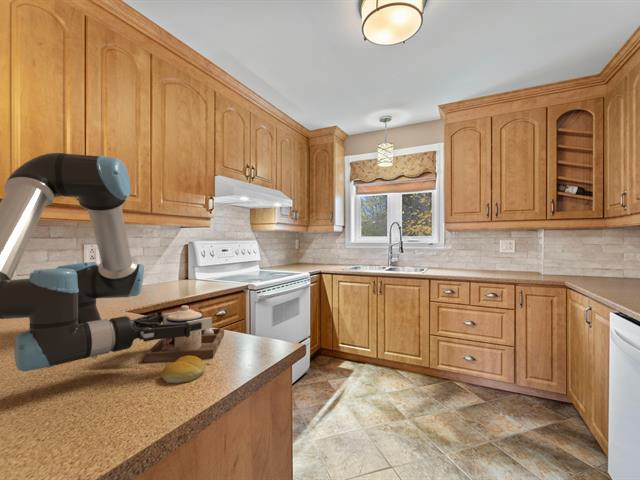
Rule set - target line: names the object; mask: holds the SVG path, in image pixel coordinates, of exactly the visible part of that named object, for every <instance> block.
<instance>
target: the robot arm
mask: <svg viewBox="0 0 640 480" xmlns="http://www.w3.org/2000/svg"><path fill="white" fill-rule="evenodd" d="M130 183H131V179H130V175H129V171H128V169H127V167H126V165H125V163H124V162H123V161H122V160H121V159H119V158H117V157H111V156H110V157H109V156H106V155H99V156H98V155H87V154H75V153H65V152H50V153H44V154H41V155H38V156H36V157H34V158H31V159H29V160H28V161H25V162H24V163H23V164H21V165H20V166H19V167H17V168H16V169H15V170H14V171H13V172H12V173H11V174H10V175H9V177H8V179H6V182H5V183H4V187H3V189H4V192H5V194H4V196H3V198H2V199H1V200H0V320H10V319H24V318H25V319H26V318H27V319H29V329H28V330H26V331H24V332H23V331H22V332H20V333H18V334H17V335H16V336H15V338H14V363H15V366H16V368H17V370H18V371H21V372H29V371H35V370H40V369H46V368H51V367H55V366H60V365H62V364H63V365H64V364H67V363H73V362H76V361H78V360H79V361H81V360H83V359H87V358H91V359H93V360H95V359H97V358H98V356H101V355H106V354H109V353H110V352H113V353H115V352H119V351H124V350H125V351H126V350H129V349H130V348H131V347H132V346H133V343H134V341H135V340H136V339H139V340H141V341H142V340H143V342H146V343H147V342H150V341H156V340H161V339H166V338H175V337H184V336H186V337H189V336H190V333H191V332H196V331H200V330H205V329H213V318H212V317H211V316H210V317H204V318H203V317H202V319H198V320H193V321H188V322H187V323H179V324H167V320H166V319H167V317H168V315H170V314H173V313H175V312H176V311H173V312H168V313H163V312H162V311H156V313H152V314H148V315H145V316H142V317H138V318H134V319H131V318H130V317H129V316H127V315H126V316H117V317H113V318H111V317H110V319H106V318H103V319H102V317H101V315H100V312H99V309H98V308H97V299H115V298H116V299H117V298H118V299H119V298H131V297H137V296H139V295H140V294H141V292H142V287H143V280H144V272H145V271H144V268H145V267H144V264H141V263H138V262H137V259H136V258H135V257H133V256H131V249H130V245H129V240H128V235H127V229H126V224H125V218H124V213H123V207H122V206H124V204H125V203H126V201H127V199H129V197H130V196H131V192H132V191H131V190H132V189H131V184H130ZM58 197H59V198H60V197H66V198H77V200H78V203H79V206H80V207H82V208H83V209H84V210H87V212H88V216H89V220H90V223H91V227H92V228H91V229H92V232H93V235H94V239H95V242H96V247H97V249H98V254H99V258H100V260H101V262H100V263H99V264H98V263H97V262H96V261H88V262H79V263H72V264H66V265H58V266H57V267H56V268H42V269H35V270H34V269H33V270H32V271H30V274H29V277H28V278H21V279H19V278H18V279H13V276H14V274H15V272H16V270H17V267H18V266H19V263H20V262H21V260H22V256H23V255H24V252H25V250H26V249H27V246H28V245H29V242H30V239H31V238H32V235H33V233H34V231H35V229H36V227H37V224H38V223H39V221H40V219H41V217H42V215H43V211H44V210H45V208H46V207H47V206H49V205H52V203H53V202H54V201H55V198H58Z"/></svg>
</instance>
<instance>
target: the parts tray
mask: <svg viewBox="0 0 640 480" xmlns="http://www.w3.org/2000/svg"><path fill="white" fill-rule="evenodd" d="M211 329H212V330H213V331H214V334H210V335H204V331H205V330H206V329H205V330H201V347H200V348H199V349H198V350H182V351H167V338H166V339H158V341H157V342H156V343H155V344H154V345H153V346H151V347H150V349H148V350H147V351H146V352H145V353H144V363H155V362H156V363H157V362H173V361H174V362H175V361H176V360H177V359H179V358H181V357H183V356H196V357H198V358H200V359H201V360H205V359H214V358H215V356H216V354H217V352H218V349H219V347H220V345H221V343H222V340H223V338H224V336H225V328H224V327H221V328H211Z"/></svg>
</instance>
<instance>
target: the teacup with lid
mask: <svg viewBox="0 0 640 480" xmlns="http://www.w3.org/2000/svg"><path fill="white" fill-rule="evenodd" d="M189 307H190V306H189V305H181V306H180V309H179V310H178V309H177V310H176V311H174V312H175V313H173V314H170V315H168V317H167V319H166V320H167V324H179V323H187V322H188V321H193V320H198V319H203V314H202V313H201V312H198V311H196V310H194V309H191V308H189ZM200 347H201V330H200V331H196V332H191V333H190V336H189V337H186V336H184V337H175V338H167V351H182V350H198V349H199V348H200Z"/></svg>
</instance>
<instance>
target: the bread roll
mask: <svg viewBox="0 0 640 480" xmlns="http://www.w3.org/2000/svg"><path fill="white" fill-rule="evenodd" d="M205 371H206V364H205V363H204V361H203V359H200V358H198V357H196V356H183V357H181V358H179V359H177V360H175V361H174V362H173V361H172V362H171V363H169V364H167V365H165V367H164V368H163V369H162V371H161V378H162V379H163V380H164V381H165V382H166V383H167V384H182V383H187V382H191V381H194V380H196V379H197V378H199V377H200V376H202V375H203V374H204V373H205Z"/></svg>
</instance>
